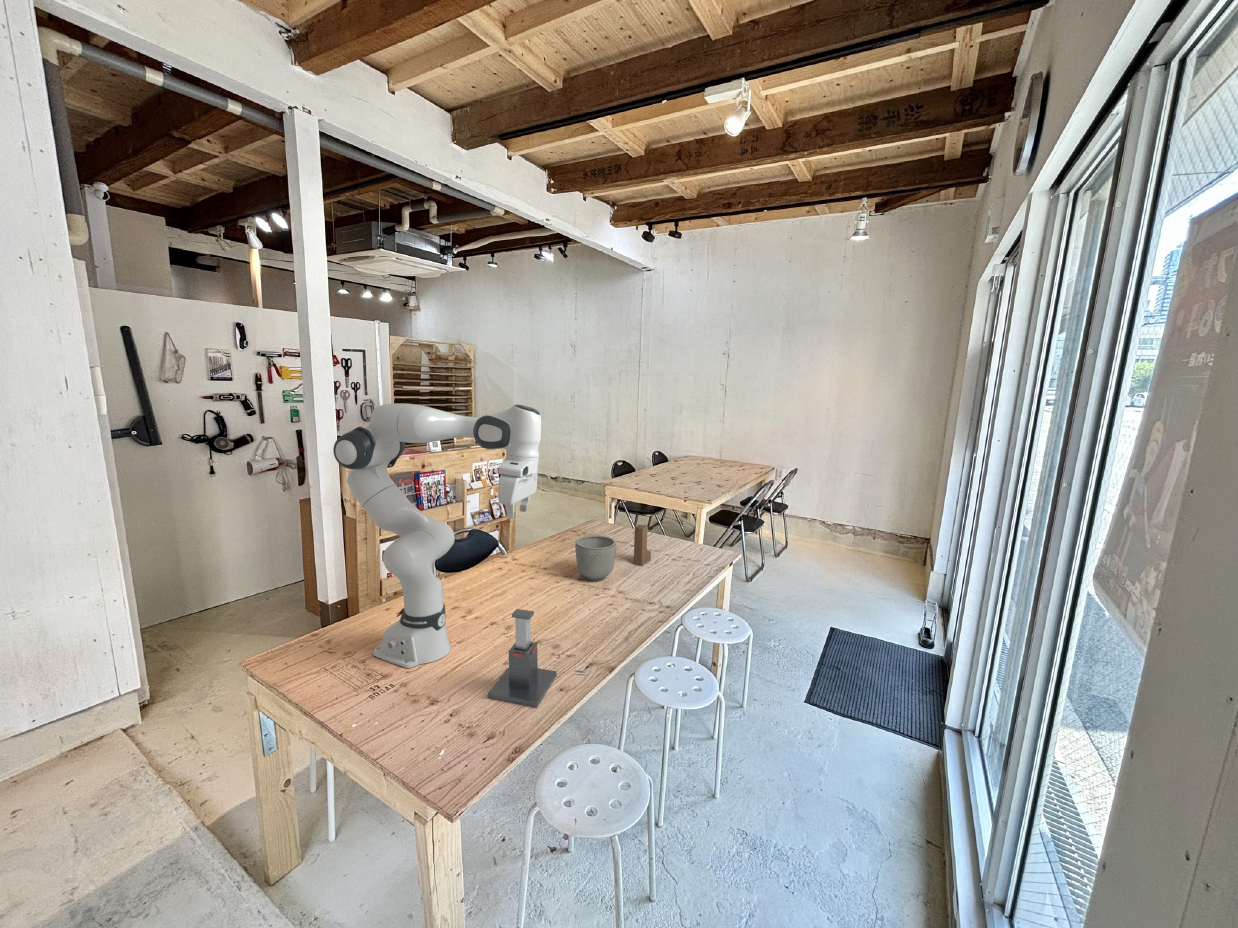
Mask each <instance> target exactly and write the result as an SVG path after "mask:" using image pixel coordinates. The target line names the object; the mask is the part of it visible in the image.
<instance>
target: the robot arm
mask: <svg viewBox="0 0 1238 928" xmlns="http://www.w3.org/2000/svg"><path fill="white" fill-rule="evenodd" d="M457 438H468V439H469V438H470V439H474V441H475V442H476V444H477V445H478V446H479V447H481V448H483V449H486V450H491V451H493V450H500V449H501V450H502V449H504V450H505V452H506V453H505V454H506V455H505V458H504V460H503V461H502V463H501V464H500V465H499V467H498V470H497V472H498V474H499V475H500V476H499V479H498V490H497V493H498V495H497V500H498V502H499V504H500V505H505V510H506V519H507V520H513V519H515V517H516V511H515V507H516V504H517V503H518V502H521V503H520V505H519V511H520V512H521V513H525V512H527V510H528V506H529V503H530V500H531V496H533V495H535V494H536V493H537V490H538V471H539V462H540V461H539V460H540V452H539V447H540V446H539V445H540V444H541V440H542V416H541V413H540V411H538V410H537V409H535V408H533V407H531V406H527V405H522V404H513V405H512V406H511V407H510V408H507V409H505V410H502V411H499V412H496V413H490V414H486V415H482V416H481V417H479V416H470V415H469V416H468V415H461V414H457V413H451V412H448V411H445V410H441V409H437V408H433V407H431V406H426V405H421V404H413V403H397V402H396V403H386V404H379V405H378V406H377V407H376V408H374V409H373V410H372V412H371V413H370V419H369V424H368V425H367V426H365V427H363V426H357V427H356V428H354V429H352V430H350V431H348V432H346V433H344V434H342V435H341V436H339V437H338V438H337V439H336V441H335V442H334V445H333V449H332V450H333V456H334V458H335V460H336V462H337V463H338V464H339V465H340V466H341V467H343V468H345V469H347V470H348V469H349V470H350V472H349V473H348V475H347V477H346V481H347V482H346V483H347V485H348V487H349V489H350V491H351V493H352V494H353V496H354V498H355V499H356V501H357V502H358V504H359V505H360V506H361V507H362V509H363V510H364V511H365V512H366V514H367V515H368V516H369V518H371V520H372V521H373V523H374V524H376V526H377V527H378V528H379V529H380V530H382V531H383V530H384V531H387V532H391V533H393V534H395V535H397V536H399V537H398V538H397V539H395V540H394V541H393V542H392V543H390V545H389V546H387V547H386V548H385V550H384V552H383V555H382V561H383V565H384V567H385V569H386V570H387V572H389V574H392V575H393V576H395V577H397V578H398V580H399V582H400V585H401V588H402V595H403V607H402V608H401V610H400V611H398V612H397V613H396V617H397V618H399V616H400V619H398V620H397V621H396V622H395V623H393V624H392V625H390V626H389V627H388V628H387V629H386V630H385V631H384V633H383V635H382V636H381V641H380V643H379V644H378V645H377V646H376V647H375V648H374V650H373V655H372V656H373V657H375V656H376V657H375V658H377V659H380V658H381V660H383V661H386V662H389V663H391V664H393V665H394V664H395V665H397V666H399V667H403V668H406V669H411V668H413V667H416V666H419V665H425V664H428V663H432V662H436V661H438V660H441V659H442V658H444V657H446V655H448V653H449V652H451V649H452V645H451V643H450V640H449V637H448V633H447V628H446V605H445V603H444V587H443V586H444V585H443V581H442V580H441V579H440V577H438V576H436V575H434V572H433V563H434V562H435V561H437V560H439V559H440V558H442V557H444V556H445V555H446V554H447V553H448V552H449V550H451V548H452V547H453V546H454V544H455V539H456V538H455V532H454V530H453V528H452V527H451V526H450V525H449V524H447V523H445V522H442V521H439V520H436V519H434V518H432V517H430V516H428V515H427V514H425V513H424V512H422V511H421V510H420V509H418V508H417V507H416V506H415V505H414V504H413V503H412V502H411V501H410V499H408V498H407V496H406V495H405V493H404V492H402V490H401V489H400V488H399V487H398V485H397V484H396V483H395V482H394V481H393V479H392V478H391V477H390V475H389V474H388V468H389V469H391V468H393V467H394V466H395V465H396V463H397V461H398V460H399V458H400V457H402V455H403V453H404V452H405V448H406V443H407V444H408V443H409V444H425V443H435V442H438V441H445V440H450V439H457Z"/></svg>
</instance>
